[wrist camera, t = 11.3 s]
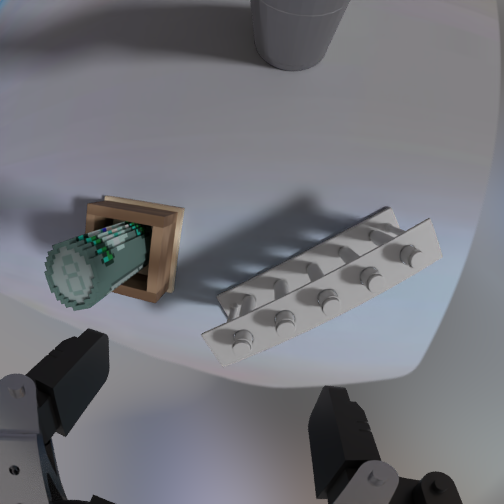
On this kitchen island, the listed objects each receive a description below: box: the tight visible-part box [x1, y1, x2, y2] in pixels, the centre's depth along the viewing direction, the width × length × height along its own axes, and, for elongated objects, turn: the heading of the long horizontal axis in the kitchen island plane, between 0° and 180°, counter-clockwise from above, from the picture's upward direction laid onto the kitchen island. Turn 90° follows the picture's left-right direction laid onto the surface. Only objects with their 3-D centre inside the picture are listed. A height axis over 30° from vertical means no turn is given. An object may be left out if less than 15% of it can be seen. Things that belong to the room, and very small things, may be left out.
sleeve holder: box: [85, 196, 185, 303], centre depth 36 cm, size 11×11×6 cm
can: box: [45, 221, 152, 311], centre depth 30 cm, size 6×6×15 cm
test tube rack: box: [201, 207, 443, 367], centre depth 32 cm, size 25×4×13 cm, turn 118°
